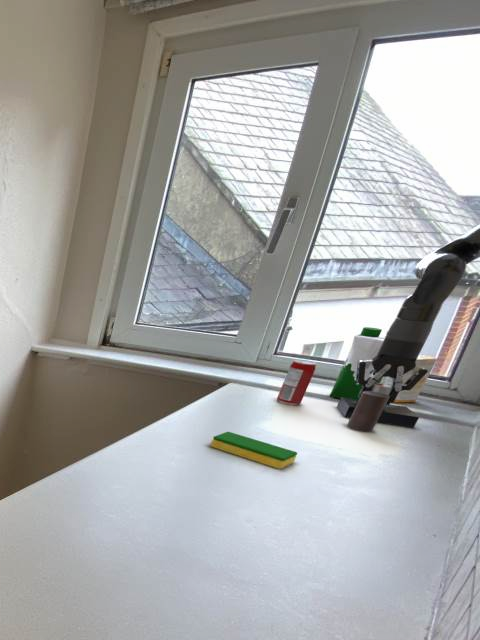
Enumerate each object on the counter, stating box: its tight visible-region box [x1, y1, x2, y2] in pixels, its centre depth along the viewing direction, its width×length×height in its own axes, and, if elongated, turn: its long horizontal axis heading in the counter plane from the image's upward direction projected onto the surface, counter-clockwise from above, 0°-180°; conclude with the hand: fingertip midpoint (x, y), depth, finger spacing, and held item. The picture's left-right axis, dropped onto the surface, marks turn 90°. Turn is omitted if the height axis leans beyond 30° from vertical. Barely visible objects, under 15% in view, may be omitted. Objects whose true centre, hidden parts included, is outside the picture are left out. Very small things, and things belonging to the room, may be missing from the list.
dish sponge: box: [210, 431, 298, 470], centre depth 119 cm, size 7×14×2 cm, turn 34°
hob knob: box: [370, 382, 393, 395], centre depth 145 cm, size 4×4×6 cm
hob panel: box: [336, 397, 420, 429], centre depth 146 cm, size 14×10×3 cm
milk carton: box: [329, 326, 386, 400], centre depth 158 cm, size 9×9×20 cm
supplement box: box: [384, 354, 438, 404], centre depth 160 cm, size 8×5×13 cm, turn 100°
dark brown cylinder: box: [346, 391, 390, 433], centre depth 136 cm, size 5×5×9 cm
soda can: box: [276, 359, 317, 406], centre depth 154 cm, size 6×6×12 cm
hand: (374, 401), depth 146 cm, fingers closed on hob knob, 4 cm apart
